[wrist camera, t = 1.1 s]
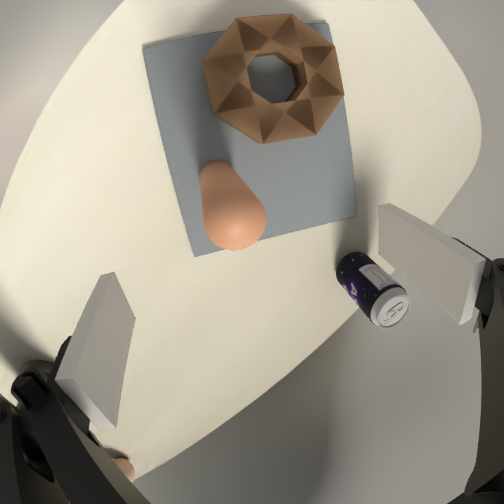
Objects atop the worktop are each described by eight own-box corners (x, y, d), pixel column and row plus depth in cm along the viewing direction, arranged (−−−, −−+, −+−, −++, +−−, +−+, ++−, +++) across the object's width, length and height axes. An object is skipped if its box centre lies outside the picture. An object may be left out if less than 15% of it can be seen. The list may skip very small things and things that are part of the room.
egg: (105, 456, 55) (103, 485, 47) (118, 451, 54) (116, 481, 46) (126, 465, 58) (125, 493, 50) (140, 460, 57) (139, 490, 49)
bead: (219, 149, 32) (223, 153, 28) (195, 35, 26) (195, 25, 22) (334, 129, 33) (349, 130, 29) (313, 23, 27) (326, 14, 23)
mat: (194, 255, 37) (194, 257, 37) (143, 50, 26) (142, 49, 25) (354, 214, 39) (356, 216, 38) (326, 24, 28) (328, 23, 27)
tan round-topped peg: (203, 197, 34) (212, 256, 20) (195, 164, 32) (196, 199, 18) (237, 189, 34) (271, 241, 20) (230, 156, 32) (260, 183, 18)
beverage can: (327, 263, 41) (369, 311, 31) (359, 241, 41) (408, 282, 30) (341, 289, 44) (380, 338, 33) (371, 269, 44) (415, 312, 33)
